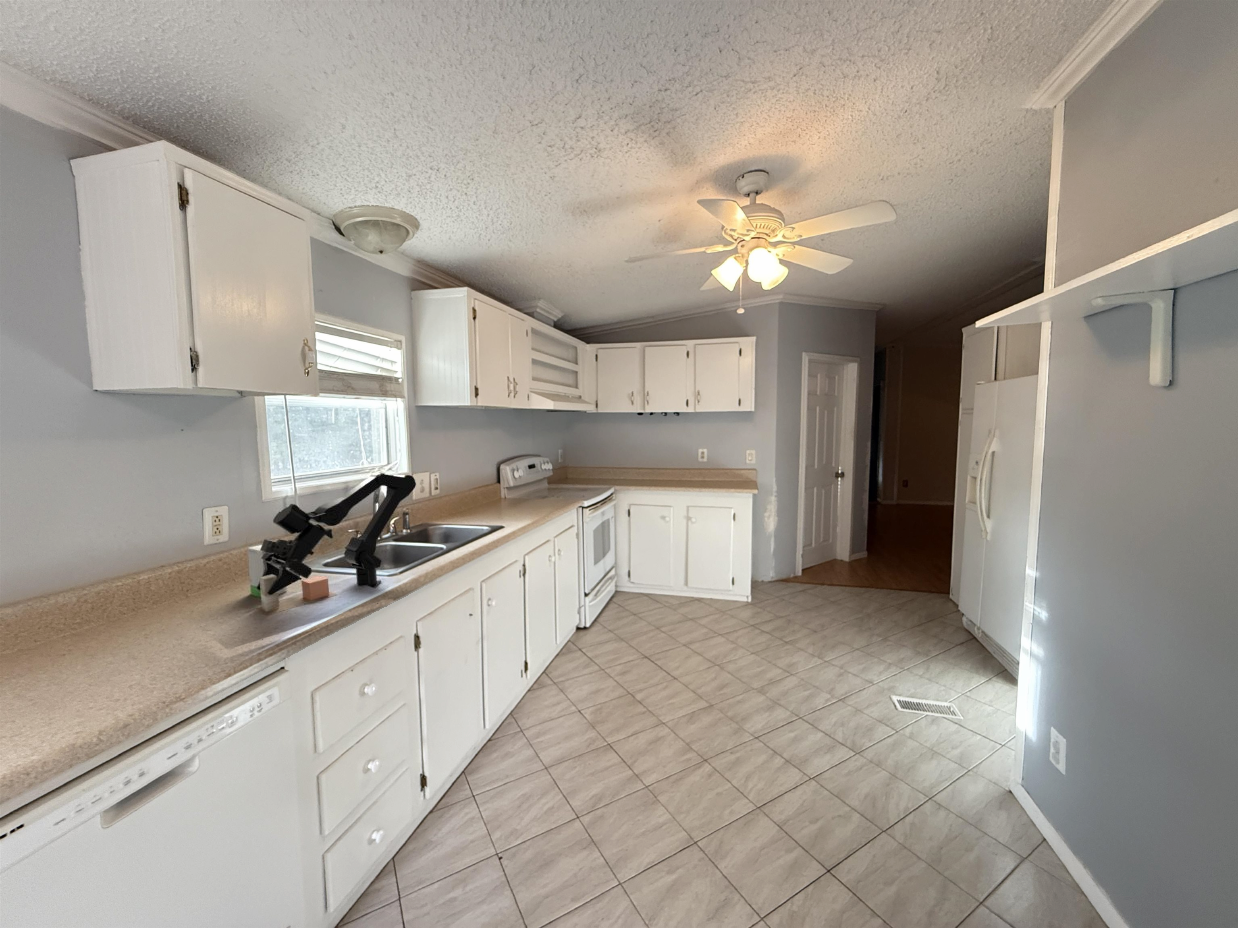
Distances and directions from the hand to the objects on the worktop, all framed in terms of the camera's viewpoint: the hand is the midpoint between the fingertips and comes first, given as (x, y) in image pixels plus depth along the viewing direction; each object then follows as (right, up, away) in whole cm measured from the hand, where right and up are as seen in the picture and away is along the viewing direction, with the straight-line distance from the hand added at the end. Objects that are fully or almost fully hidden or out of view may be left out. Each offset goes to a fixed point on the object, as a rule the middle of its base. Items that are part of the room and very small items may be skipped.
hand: (263, 591), depth 132 cm
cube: (+7, -4, +11) cm, 14 cm away
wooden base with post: (+5, -6, +7) cm, 10 cm away
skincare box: (-9, -6, +15) cm, 19 cm away
